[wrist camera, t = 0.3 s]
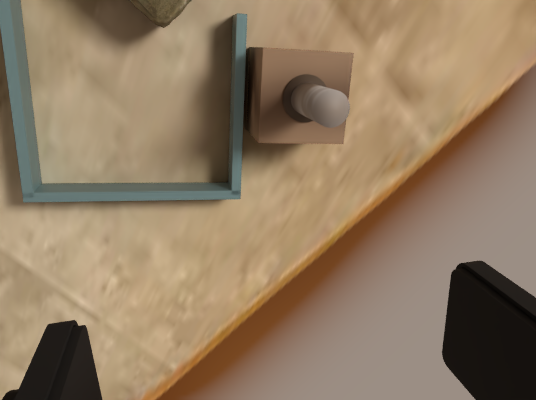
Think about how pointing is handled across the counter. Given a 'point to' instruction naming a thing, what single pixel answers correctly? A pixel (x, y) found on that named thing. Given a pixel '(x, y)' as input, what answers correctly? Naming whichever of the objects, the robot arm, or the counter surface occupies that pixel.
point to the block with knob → (298, 95)
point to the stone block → (161, 9)
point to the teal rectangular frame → (12, 31)
